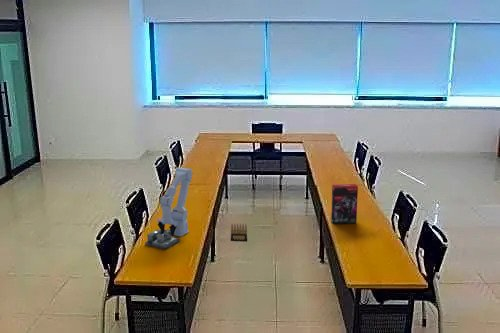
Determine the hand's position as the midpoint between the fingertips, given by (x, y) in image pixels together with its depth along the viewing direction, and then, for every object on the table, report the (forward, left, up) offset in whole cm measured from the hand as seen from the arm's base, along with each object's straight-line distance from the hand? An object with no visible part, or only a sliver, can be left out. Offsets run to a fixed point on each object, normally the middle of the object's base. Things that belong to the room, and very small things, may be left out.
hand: (167, 234), depth 335 cm
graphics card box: (-88, +86, -5) cm, 123 cm away
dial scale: (+4, -2, -5) cm, 6 cm away
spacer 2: (0, 0, -2) cm, 2 cm away
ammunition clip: (-24, +38, -5) cm, 46 cm away
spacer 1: (+7, 0, -2) cm, 7 cm away
